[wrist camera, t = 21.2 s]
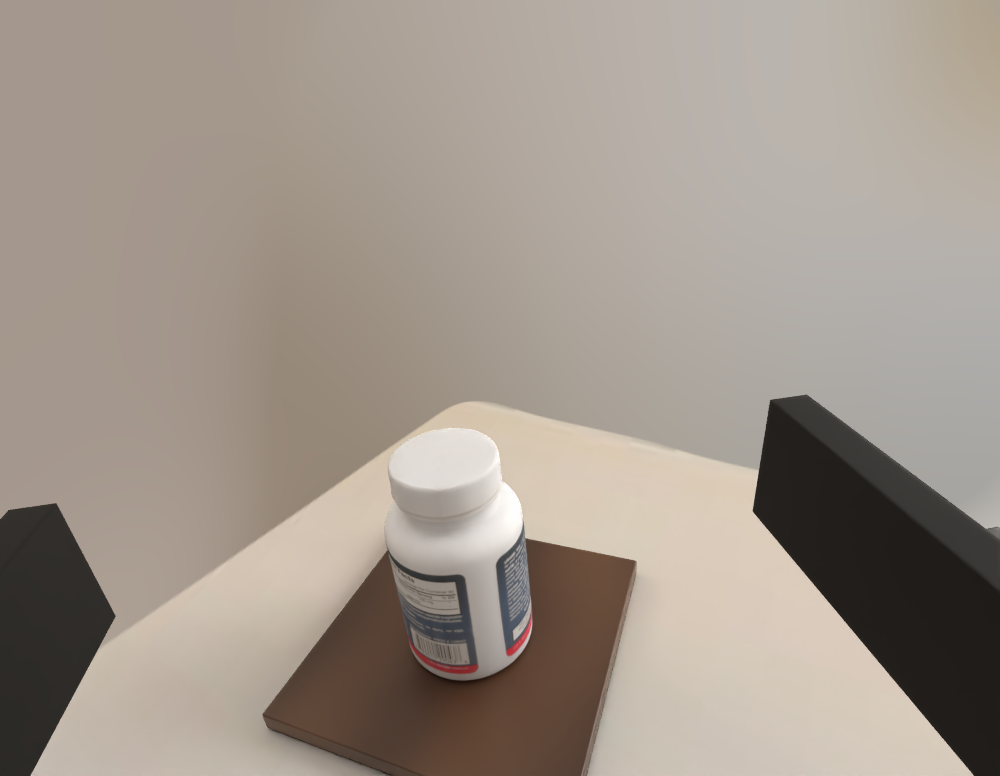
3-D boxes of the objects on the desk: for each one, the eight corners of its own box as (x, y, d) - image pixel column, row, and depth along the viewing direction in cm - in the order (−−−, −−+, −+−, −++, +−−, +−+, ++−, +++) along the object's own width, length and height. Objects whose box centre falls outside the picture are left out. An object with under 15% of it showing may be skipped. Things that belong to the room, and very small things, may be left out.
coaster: (267, 727, 23) (261, 714, 22) (415, 526, 33) (413, 515, 32) (569, 845, 18) (569, 831, 18) (636, 572, 28) (636, 560, 28)
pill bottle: (502, 567, 28) (485, 404, 24) (555, 651, 24) (545, 470, 20) (394, 609, 26) (356, 441, 22) (430, 707, 22) (391, 521, 18)
